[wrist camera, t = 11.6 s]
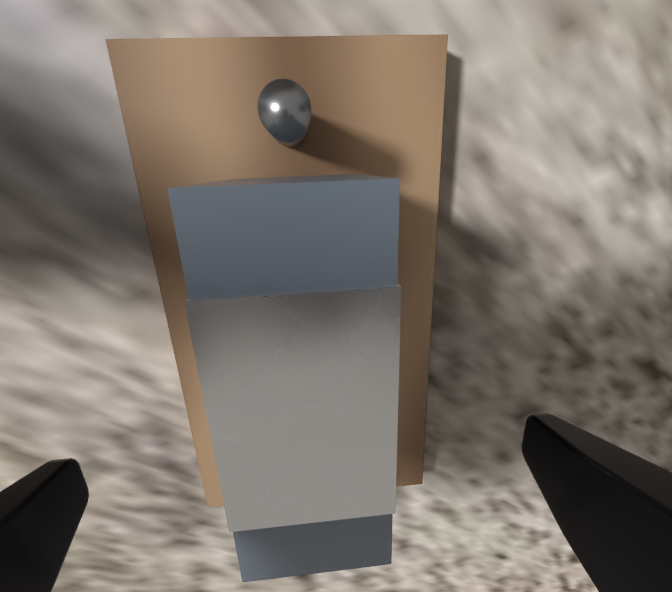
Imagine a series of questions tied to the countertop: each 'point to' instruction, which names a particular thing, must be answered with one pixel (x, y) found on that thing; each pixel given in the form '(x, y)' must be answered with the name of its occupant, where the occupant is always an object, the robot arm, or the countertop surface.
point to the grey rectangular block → (298, 362)
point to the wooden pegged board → (291, 164)
